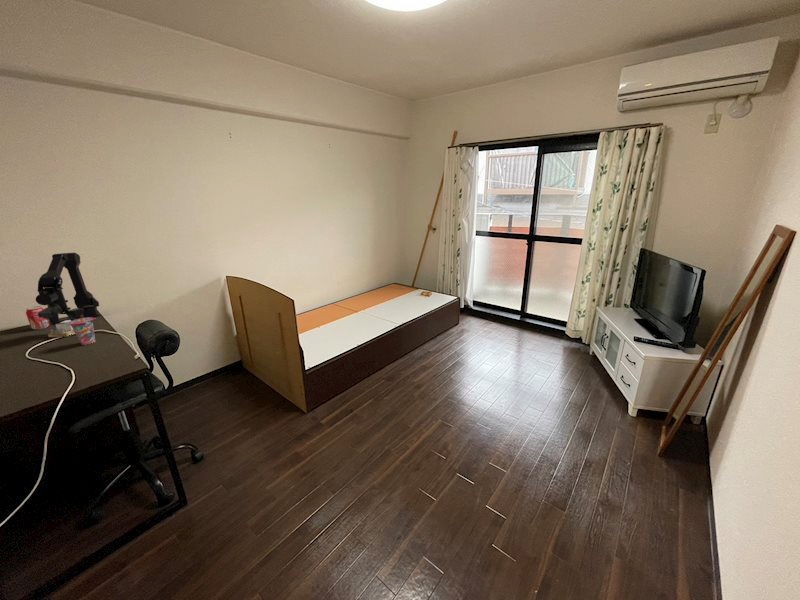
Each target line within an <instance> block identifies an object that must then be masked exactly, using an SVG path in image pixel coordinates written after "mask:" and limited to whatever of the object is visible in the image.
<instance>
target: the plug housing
mask: <svg viewBox="0 0 800 600" xmlns="http://www.w3.org/2000/svg"><path fill="white" fill-rule="evenodd" d="M70 321H71V319H68V320H67V319H65V320H64V321H61V322H59V323H57V324H55V325H56V327H55V328H56V329H58V330H59V332H61V330H60V329H63V331H64V332H69V331H71V330H73V328H72V326H71V325H70V324H69V322H70Z"/></svg>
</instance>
